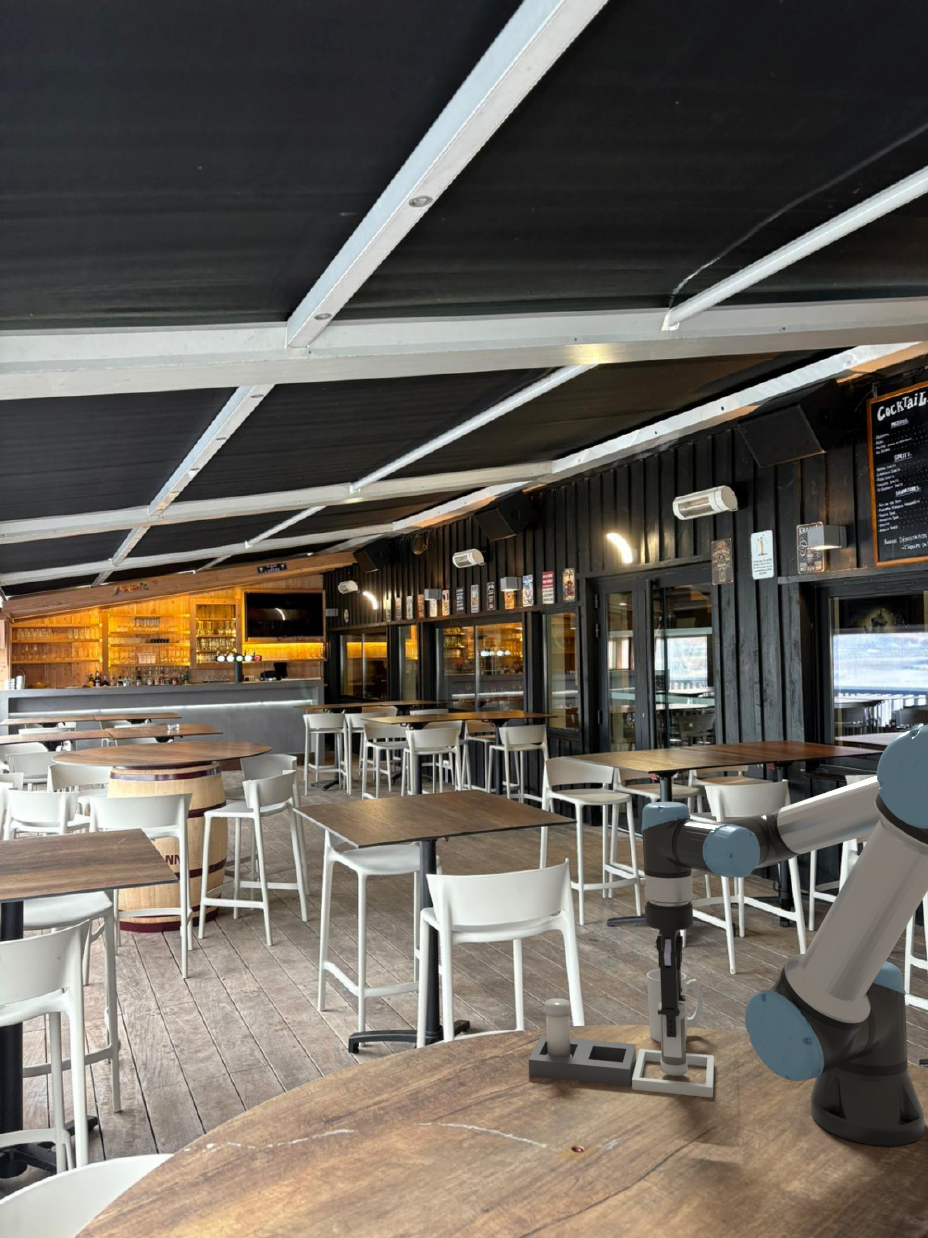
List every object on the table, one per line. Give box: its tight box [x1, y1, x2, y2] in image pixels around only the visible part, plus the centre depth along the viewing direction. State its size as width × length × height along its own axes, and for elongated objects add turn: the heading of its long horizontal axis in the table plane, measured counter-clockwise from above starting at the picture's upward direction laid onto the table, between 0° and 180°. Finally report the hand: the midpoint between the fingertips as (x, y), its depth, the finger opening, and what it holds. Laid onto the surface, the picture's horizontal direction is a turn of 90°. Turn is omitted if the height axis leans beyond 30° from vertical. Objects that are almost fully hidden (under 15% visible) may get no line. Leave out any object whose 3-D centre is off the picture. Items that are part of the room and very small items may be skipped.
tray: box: [631, 1048, 715, 1098], centre depth 146 cm, size 12×12×3 cm
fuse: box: [544, 997, 572, 1058], centre depth 151 cm, size 4×4×10 cm
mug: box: [646, 968, 704, 1043], centre depth 163 cm, size 10×7×12 cm, turn 99°
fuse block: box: [528, 1035, 637, 1087], centre depth 150 cm, size 16×10×4 cm, turn 74°
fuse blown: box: [659, 1002, 689, 1077], centre depth 146 cm, size 4×4×10 cm
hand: (673, 1049), depth 146 cm, fingers closed on fuse blown, 4 cm apart
